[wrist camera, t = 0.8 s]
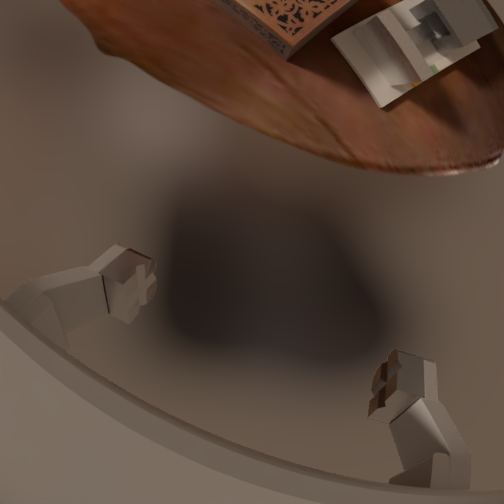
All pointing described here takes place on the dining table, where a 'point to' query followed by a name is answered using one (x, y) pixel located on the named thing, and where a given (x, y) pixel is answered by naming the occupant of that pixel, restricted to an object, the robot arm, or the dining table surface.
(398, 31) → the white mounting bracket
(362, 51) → the gauge board
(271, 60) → the dining table surface
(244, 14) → the tissue box cover
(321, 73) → the dining table surface
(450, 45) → the box
